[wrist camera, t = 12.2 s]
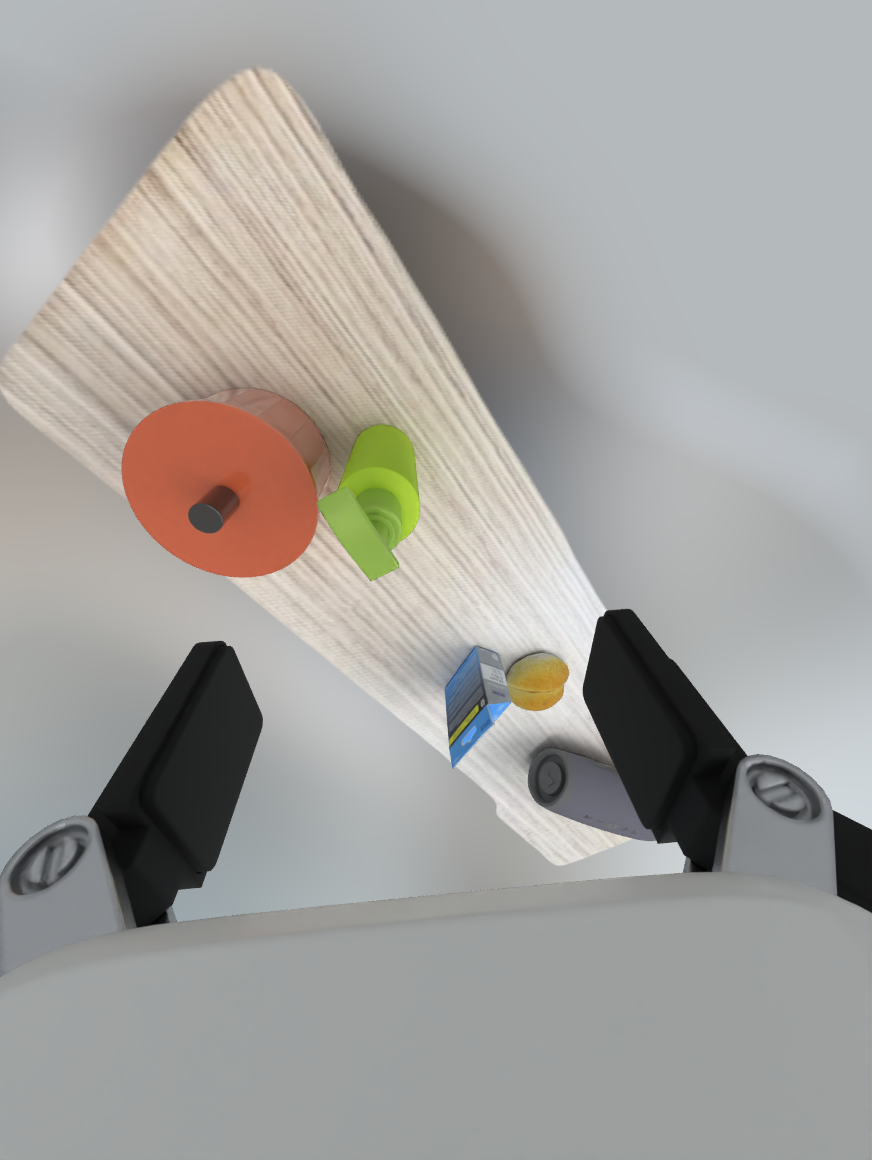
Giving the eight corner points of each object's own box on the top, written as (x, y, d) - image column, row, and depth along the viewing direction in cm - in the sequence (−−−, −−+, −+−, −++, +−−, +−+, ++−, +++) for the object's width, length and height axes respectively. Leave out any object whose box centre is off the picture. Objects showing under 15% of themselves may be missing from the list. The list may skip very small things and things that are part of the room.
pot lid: (93, 405, 27) (42, 419, 24) (298, 391, 28) (281, 402, 24) (174, 577, 35) (145, 609, 31) (335, 563, 35) (327, 594, 31)
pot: (167, 393, 35) (99, 414, 27) (315, 382, 36) (290, 401, 28) (217, 526, 42) (174, 575, 34) (341, 516, 42) (327, 562, 34)
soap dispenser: (389, 401, 37) (379, 470, 20) (425, 468, 40) (442, 575, 23) (334, 433, 38) (281, 524, 21) (374, 496, 41) (356, 616, 25)
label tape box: (466, 695, 58) (480, 777, 48) (441, 687, 57) (450, 769, 47) (500, 653, 54) (523, 732, 44) (473, 643, 53) (491, 722, 43)
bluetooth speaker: (518, 761, 67) (534, 824, 59) (556, 728, 64) (579, 790, 55) (612, 796, 75) (639, 856, 67) (651, 768, 71) (685, 828, 63)
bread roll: (570, 649, 55) (581, 671, 51) (555, 696, 60) (564, 719, 56) (509, 649, 54) (517, 671, 51) (499, 697, 59) (505, 719, 55)
